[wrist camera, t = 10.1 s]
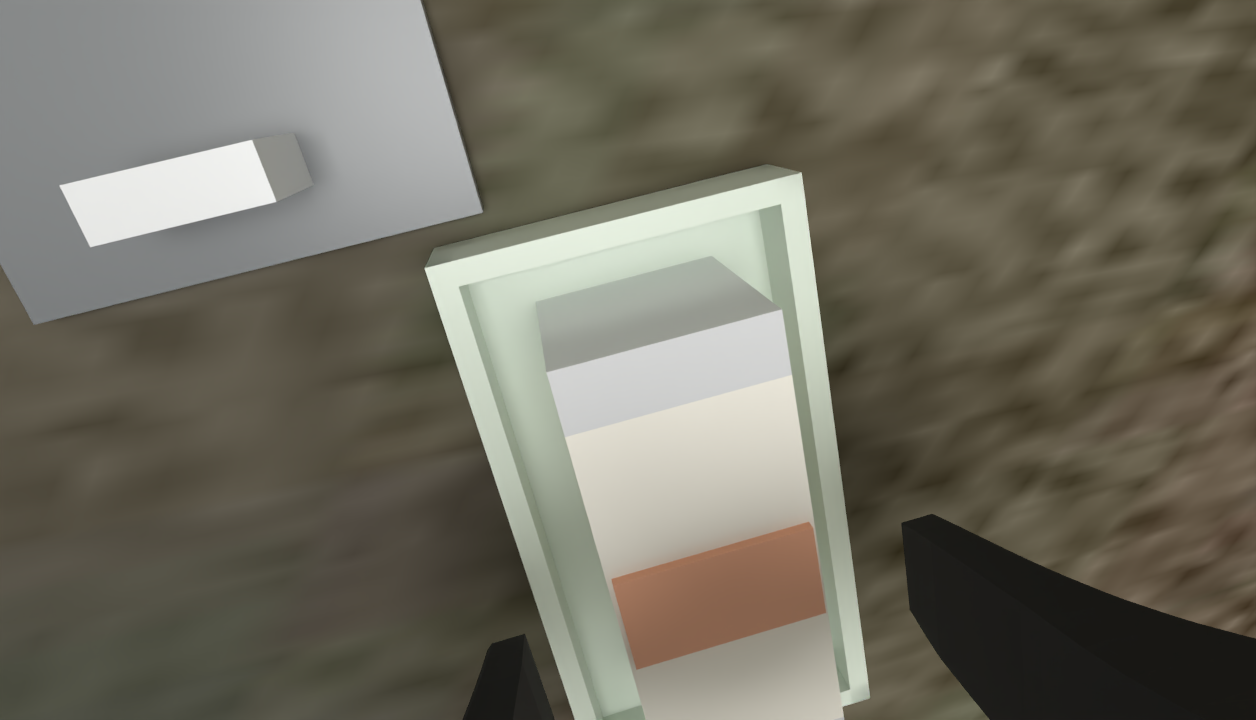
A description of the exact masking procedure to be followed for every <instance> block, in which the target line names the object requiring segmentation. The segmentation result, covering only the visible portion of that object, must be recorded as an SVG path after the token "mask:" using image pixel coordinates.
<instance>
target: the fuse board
mask: <svg viewBox="0 0 1256 720" xmlns="http://www.w3.org/2000/svg"><path fill="white" fill-rule="evenodd" d="M483 210H484V208H483V204H482V201H481V198H480V194H479V191H478V187H477V184H476V180H475V177H474V174H473V170H472V167H471V163H470V160H469V157H468V153H467V150H466V146H465V143H464V140H463V136H462V133H461V129H460V126H459V123H458V119H457V116H456V112H455V109H454V105H453V102H452V99H451V95H450V92H449V88H448V85H447V82H446V78H445V75H444V71H443V68H442V65H441V61H440V58H439V54H438V51H437V48H436V44H435V41H434V37H433V34H432V30H431V27H430V24H429V20H428V17H427V13H426V10H425V7H424V3H423V0H0V264H1V266H2V268H3V270H4V272H5V273H6V275H7V277H8V279H9V281H10V282H11V284H12V286H13V288H14V290H15V291H16V293H17V295H18V297H19V299H20V301H21V302H22V304H23V306H24V308H25V310H26V311H27V313H28V315H29V317H30V319H31V320H32V322H33V324H34V325H35V324H39V323H43V322H47V321H51V320H55V319H59V318H63V317H67V316H71V315H75V314H79V313H83V312H87V311H91V310H95V309H99V308H103V307H107V306H111V305H115V304H119V303H123V302H127V301H131V300H135V299H139V298H143V297H147V296H151V295H155V294H159V293H163V292H167V291H171V290H175V289H179V288H183V287H187V286H191V285H195V284H199V283H203V282H207V281H211V280H215V279H219V278H223V277H227V276H231V275H235V274H239V273H243V272H247V271H251V270H255V269H259V268H263V267H267V266H271V265H275V264H279V263H283V262H287V261H291V260H295V259H299V258H303V257H307V256H311V255H315V254H319V253H323V252H327V251H331V250H335V249H339V248H343V247H347V246H351V245H355V244H359V243H363V242H367V241H371V240H375V239H379V238H383V237H387V236H391V235H395V234H399V233H403V232H407V231H411V230H415V229H419V228H423V227H427V226H431V225H435V224H439V223H443V222H447V221H451V220H455V219H459V218H463V217H467V216H471V215H475V214H479V213H483Z"/></svg>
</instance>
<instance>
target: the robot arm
mask: <svg viewBox="0 0 1256 720" xmlns="http://www.w3.org/2000/svg"><path fill="white" fill-rule="evenodd" d="M901 524H902V534H903V544H904V554H905V564H906V575H907V585H908V595H909V605H910V610H911V612H912V614H913V615H914V617H915V619H916V620H917V622H918V624H919V625H920V627H921V629H922V630H923V632H924V633H925V635H926V637H927V638H928V640H929V641H930V643H931V644H932V646H933V648H934V649H935V651H936V652H937V654H938V655H939V657H940V658H941V660H942V661H943V662H944V663H945V665H946V666H947V667H948V668H949V670H950V671H951V672H952V673H953V675H954V676H955V677H956V678H957V680H958V681H959V682H960V683H961V685H962V686H963V687H964V688H965V690H966V691H967V692H968V693H969V695H970V696H971V697H972V698H973V700H974V701H975V702H976V703H977V704H978V706H979V707H980V708H981V709H982V711H983V712H984V713H985V714H986V715H987V717H988V718H989V719H990V720H1256V639H1255V638H1251V637H1247V636H1243V635H1239V634H1235V633H1232V632H1228V631H1224V630H1221V629H1217V628H1213V627H1209V626H1206V625H1202V624H1198V623H1195V622H1192V621H1188V620H1185V619H1182V618H1178V617H1175V616H1172V615H1169V614H1166V613H1163V612H1160V611H1157V610H1154V609H1151V608H1148V607H1145V606H1142V605H1139V604H1136V603H1133V602H1130V601H1127V600H1124V599H1121V598H1119V597H1116V596H1113V595H1111V594H1108V593H1105V592H1103V591H1100V590H1098V589H1095V588H1093V587H1090V586H1088V585H1085V584H1083V583H1080V582H1078V581H1076V580H1073V579H1071V578H1068V577H1066V576H1063V575H1061V574H1059V573H1057V572H1054V571H1052V570H1050V569H1047V568H1045V567H1043V566H1041V565H1038V564H1036V563H1034V562H1032V561H1030V560H1027V559H1025V558H1023V557H1021V556H1019V555H1017V554H1015V553H1012V552H1010V551H1008V550H1006V549H1004V548H1002V547H1000V546H998V545H996V544H994V543H992V542H990V541H988V540H985V539H983V538H981V537H979V536H977V535H975V534H973V533H971V532H969V531H967V530H965V529H963V528H961V527H959V526H957V525H955V524H953V523H951V522H949V521H946V520H944V519H942V518H940V517H938V516H936V515H933V514H930V515H927V516H923V517H920V518H917V519H913V520H910V521H906V522H903V523H901ZM463 720H554V716H553V714H552V711H551V708H550V705H549V702H548V699H547V696H546V693H545V691H544V688H543V685H542V682H541V679H540V676H539V673H538V670H537V667H536V665H535V662H534V659H533V656H532V653H531V650H530V647H529V644H528V642H527V639H526V636H525V634H523V635H519V636H516V637H513V638H509V639H506V640H502V641H499V642H496V643H492V644H491V646H490V647H489V649H488V650H487V653H486V656H485V660H484V663H483V666H482V669H481V672H480V675H479V677H478V680H477V683H476V686H475V689H474V691H473V694H472V697H471V699H470V702H469V705H468V707H467V710H466V712H465V715H464V717H463Z"/></svg>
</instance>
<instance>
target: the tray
mask: <svg viewBox="0 0 1256 720" xmlns="http://www.w3.org/2000/svg"><path fill="white" fill-rule="evenodd" d="M709 256H713V257H714V258H715V259H717V260H718V261H719V262H721V263H722V264H723V265H724V266H726V267H727V268H728V269H730V270H731V271H732V272H734V273H735V274H736V275H738V276H739V277H740V278H742V279H743V280H744V281H745V282H747V283H748V284H749V285H751V286H752V287H753V288H755V289H756V290H757V291H759V292H760V293H761V294H763V295H764V296H765V297H766V298H768V299H769V300H770V301H772V302H773V303H774V304H776V305H777V306H778V307H780V308H781V309H782V312H783V319H784V325H785V332H786V338H787V345H788V352H789V358H790V365H791V372H792V378H793V385H794V391H795V398H796V405H797V411H798V418H799V424H800V431H801V438H802V444H803V451H804V457H805V464H806V471H807V477H808V484H809V490H810V497H811V504H812V510H813V517H814V523H815V530H816V537H817V543H818V550H819V557H820V563H821V570H822V576H823V583H824V590H825V596H826V603H827V609H828V616H829V623H830V629H831V636H832V642H833V649H834V656H835V662H836V669H837V675H838V682H839V689H840V695H841V702H842V707H843V706H846V705H849V704H853V703H856V702H859V701H862V700H866V699H869V698H870V693H869V685H868V677H867V670H866V662H865V654H864V647H863V639H862V631H861V624H860V616H859V608H858V601H857V593H856V586H855V578H854V570H853V563H852V555H851V547H850V540H849V532H848V524H847V517H846V509H845V501H844V494H843V486H842V478H841V471H840V463H839V455H838V448H837V440H836V433H835V425H834V417H833V410H832V402H831V394H830V387H829V379H828V371H827V364H826V356H825V348H824V341H823V333H822V325H821V318H820V310H819V302H818V295H817V287H816V280H815V272H814V264H813V257H812V249H811V241H810V234H809V226H808V218H807V211H806V203H805V195H804V188H803V180H802V173H801V172H797V171H793V170H789V169H785V168H781V167H777V166H773V165H769V164H765V165H761V166H757V167H753V168H749V169H746V170H742V171H738V172H734V173H730V174H726V175H722V176H718V177H714V178H710V179H706V180H702V181H698V182H694V183H690V184H686V185H682V186H678V187H674V188H670V189H666V190H662V191H658V192H654V193H650V194H646V195H642V196H638V197H634V198H630V199H626V200H622V201H619V202H615V203H611V204H607V205H603V206H599V207H595V208H591V209H587V210H583V211H579V212H575V213H571V214H567V215H563V216H559V217H555V218H551V219H547V220H543V221H539V222H535V223H531V224H527V225H523V226H519V227H515V228H511V229H507V230H503V231H499V232H496V233H492V234H488V235H484V236H480V237H476V238H472V239H468V240H464V241H460V242H456V243H452V244H448V245H444V246H440V247H436V248H434V249H433V251H432V253H431V255H430V258H429V260H428V262H427V264H426V266H425V271H426V274H427V277H428V280H429V283H430V286H431V289H432V292H433V295H434V298H435V301H436V304H437V307H438V310H439V313H440V316H441V319H442V322H443V325H444V328H445V331H446V334H447V337H448V340H449V343H450V346H451V349H452V352H453V355H454V358H455V361H456V364H457V367H458V370H459V373H460V376H461V379H462V382H463V385H464V388H465V391H466V394H467V397H468V400H469V403H470V406H471V409H472V412H473V415H474V418H475V421H476V424H477V427H478V430H479V433H480V436H481V439H482V442H483V445H484V448H485V451H486V454H487V457H488V460H489V463H490V466H491V469H492V472H493V475H494V478H495V481H496V484H497V487H498V490H499V493H500V496H501V499H502V502H503V505H504V508H505V511H506V514H507V517H508V520H509V523H510V526H511V529H512V532H513V535H514V538H515V541H516V544H517V547H518V550H519V553H520V556H521V559H522V562H523V565H524V568H525V571H526V574H527V577H528V580H529V583H530V586H531V589H532V592H533V595H534V598H535V601H536V604H537V607H538V610H539V613H540V616H541V619H542V622H543V625H544V628H545V631H546V634H547V637H548V640H549V643H550V646H551V649H552V652H553V655H554V658H555V661H556V664H557V667H558V670H559V673H560V676H561V679H562V682H563V685H564V688H565V691H566V694H567V697H568V700H569V703H570V706H571V709H572V712H573V715H574V718H575V720H646V719H645V715H644V712H643V708H642V705H641V701H640V698H639V694H638V691H637V687H636V684H635V680H634V677H633V673H632V670H631V666H630V663H629V659H628V656H627V652H626V649H625V645H624V642H623V638H622V635H621V631H620V628H619V624H618V621H617V617H616V614H615V610H614V607H613V603H612V600H611V596H610V593H609V589H608V586H607V582H606V579H605V575H604V572H603V568H602V565H601V561H600V558H599V554H598V551H597V547H596V544H595V540H594V537H593V534H592V530H591V527H590V523H589V520H588V516H587V513H586V509H585V506H584V502H583V499H582V495H581V492H580V488H579V485H578V481H577V478H576V474H575V471H574V467H573V464H572V460H571V457H570V453H569V450H568V446H567V443H566V439H565V436H564V432H563V429H562V425H561V422H560V418H559V415H558V411H557V408H556V404H555V401H554V397H553V394H552V390H551V387H550V383H549V380H548V376H547V373H546V367H545V360H544V354H543V347H542V341H541V334H540V328H539V321H538V315H537V308H536V301H540V300H544V299H548V298H551V297H555V296H559V295H563V294H567V293H571V292H574V291H578V290H582V289H586V288H590V287H594V286H597V285H601V284H605V283H609V282H613V281H617V280H620V279H624V278H628V277H632V276H636V275H640V274H643V273H647V272H651V271H655V270H659V269H663V268H666V267H670V266H674V265H678V264H682V263H686V262H689V261H693V260H697V259H701V258H705V257H709Z"/></svg>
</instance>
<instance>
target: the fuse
mask: <svg viewBox="0 0 1256 720" xmlns="http://www.w3.org/2000/svg"><path fill="white" fill-rule="evenodd" d="M536 308H537V315H538V321H539V328H540V334H541V341H542V347H543V354H544V360H545V367H546V373H547V376H548V380H549V383H550V387H551V390H552V394H553V397H554V401H555V404H556V408H557V411H558V415H559V418H560V422H561V425H562V429H563V432H564V436H565V439H566V443H567V446H568V450H569V453H570V457H571V460H572V464H573V467H574V471H575V474H576V478H577V481H578V485H579V488H580V492H581V495H582V499H583V502H584V506H585V509H586V513H587V516H588V520H589V523H590V527H591V530H592V534H593V537H594V540H595V544H596V547H597V551H598V554H599V558H600V561H601V565H602V568H603V572H604V575H605V579H606V582H607V586H608V589H609V593H610V596H611V600H612V603H613V607H614V610H615V614H616V617H617V621H618V624H619V628H620V631H621V635H622V638H623V642H624V645H625V649H626V652H627V656H628V659H629V663H630V666H631V670H632V673H633V677H634V680H635V684H636V687H637V691H638V694H639V698H640V701H641V705H642V708H643V712H644V715H645V719H646V720H844V715H843V708H842V702H841V695H840V689H839V682H838V675H837V669H836V662H835V656H834V649H833V642H832V636H831V629H830V623H829V616H828V609H827V603H826V596H825V590H824V583H823V576H822V570H821V563H820V557H819V550H818V543H817V537H816V530H815V523H814V517H813V510H812V504H811V497H810V490H809V484H808V477H807V471H806V464H805V457H804V451H803V444H802V438H801V431H800V424H799V418H798V411H797V405H796V398H795V391H794V385H793V378H792V372H791V365H790V358H789V352H788V345H787V338H786V332H785V325H784V319H783V312H782V309H781V308H780V307H778V306H777V305H776V304H774V303H773V302H772V301H770V300H769V299H768V298H766V297H765V296H764V295H763V294H761V293H760V292H759V291H757V290H756V289H755V288H753V287H752V286H751V285H749V284H748V283H747V282H745V281H744V280H743V279H742V278H740V277H739V276H738V275H736V274H735V273H734V272H732V271H731V270H730V269H728V268H727V267H726V266H724V265H723V264H722V263H721V262H719V261H718V260H717V259H715V258H714V257H713V256H709V257H705V258H701V259H697V260H693V261H689V262H686V263H682V264H678V265H674V266H670V267H666V268H663V269H659V270H655V271H651V272H647V273H643V274H640V275H636V276H632V277H628V278H624V279H620V280H617V281H613V282H609V283H605V284H601V285H597V286H594V287H590V288H586V289H582V290H578V291H574V292H571V293H567V294H563V295H559V296H555V297H551V298H548V299H544V300H540V301H536Z"/></svg>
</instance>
